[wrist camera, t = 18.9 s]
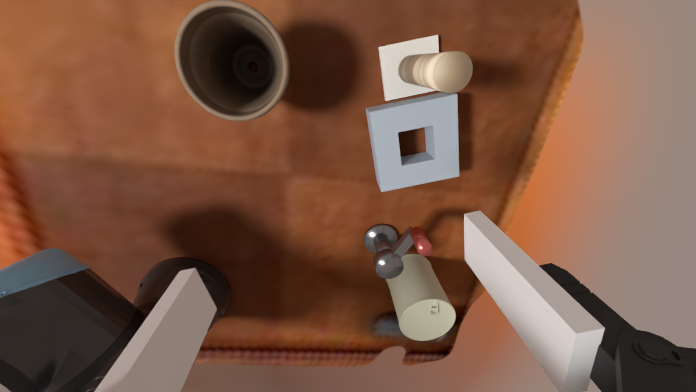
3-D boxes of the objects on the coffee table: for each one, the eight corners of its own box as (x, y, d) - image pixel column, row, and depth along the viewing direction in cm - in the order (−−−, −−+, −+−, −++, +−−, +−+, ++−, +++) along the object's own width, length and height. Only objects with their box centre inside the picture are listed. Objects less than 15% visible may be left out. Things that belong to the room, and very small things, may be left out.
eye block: (377, 182, 47) (381, 191, 43) (365, 108, 42) (369, 112, 38) (448, 167, 47) (459, 176, 43) (445, 91, 41) (457, 93, 38)
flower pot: (233, -7, 35) (201, -33, 26) (312, 52, 38) (308, 49, 29) (195, 76, 38) (154, 80, 29) (270, 124, 42) (255, 141, 33)
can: (437, 255, 54) (465, 303, 43) (424, 292, 58) (447, 345, 47) (391, 251, 53) (408, 299, 42) (380, 289, 57) (393, 342, 46)
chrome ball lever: (368, 264, 46) (374, 291, 40) (405, 215, 43) (417, 238, 37) (390, 274, 47) (398, 301, 42) (428, 228, 44) (442, 251, 38)
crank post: (366, 254, 53) (371, 276, 47) (361, 227, 50) (365, 247, 45) (398, 248, 53) (406, 269, 47) (394, 220, 50) (403, 239, 45)
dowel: (399, 85, 40) (436, 96, 27) (396, 57, 38) (434, 55, 26) (424, 80, 40) (472, 88, 27) (422, 52, 38) (472, 47, 26)
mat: (385, 100, 41) (385, 101, 41) (378, 47, 38) (379, 47, 38) (439, 89, 41) (440, 89, 41) (436, 35, 38) (438, 34, 38)
